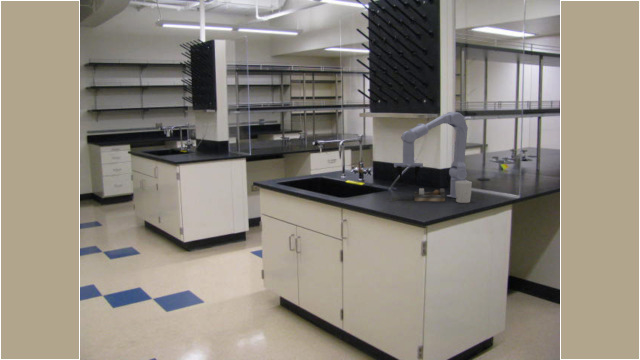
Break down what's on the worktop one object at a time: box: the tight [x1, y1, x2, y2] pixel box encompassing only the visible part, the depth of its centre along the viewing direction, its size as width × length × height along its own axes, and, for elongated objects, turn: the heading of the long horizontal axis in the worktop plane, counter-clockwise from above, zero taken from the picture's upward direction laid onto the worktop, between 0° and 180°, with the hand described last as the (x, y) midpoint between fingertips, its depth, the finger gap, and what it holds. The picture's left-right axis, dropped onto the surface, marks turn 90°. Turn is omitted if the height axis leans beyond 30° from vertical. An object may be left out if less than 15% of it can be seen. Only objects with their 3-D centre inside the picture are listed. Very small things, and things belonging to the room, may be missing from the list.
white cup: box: [455, 180, 473, 204], centre depth 253 cm, size 8×8×10 cm
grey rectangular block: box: [418, 187, 425, 195], centre depth 261 cm, size 2×6×3 cm, turn 169°
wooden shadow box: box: [414, 187, 446, 202], centre depth 261 cm, size 15×9×5 cm, turn 80°
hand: (408, 181), depth 262 cm, fingers open, 6 cm apart
